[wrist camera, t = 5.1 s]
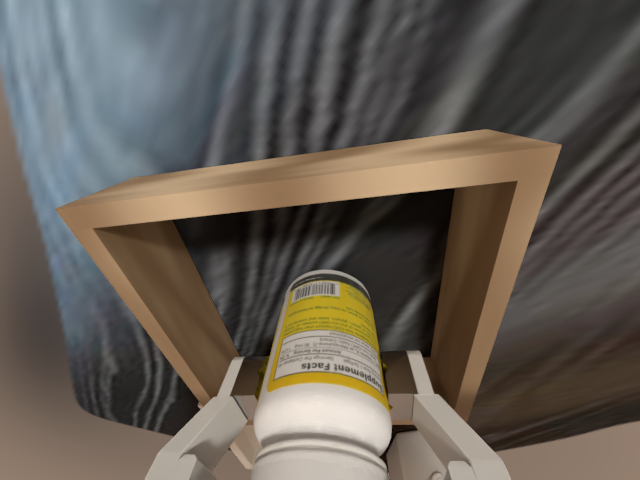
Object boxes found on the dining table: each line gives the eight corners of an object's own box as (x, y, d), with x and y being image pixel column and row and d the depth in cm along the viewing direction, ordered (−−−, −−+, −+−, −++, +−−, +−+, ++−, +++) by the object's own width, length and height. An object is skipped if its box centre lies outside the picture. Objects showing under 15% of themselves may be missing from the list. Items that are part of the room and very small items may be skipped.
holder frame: (485, 129, 9) (561, 144, 6) (441, 364, 16) (466, 424, 13) (134, 177, 11) (55, 208, 8) (236, 370, 18) (216, 425, 15)
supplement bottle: (337, 339, 15) (336, 563, 8) (270, 306, 14) (198, 532, 7) (389, 293, 13) (455, 545, 6) (315, 250, 12) (278, 495, 5)
